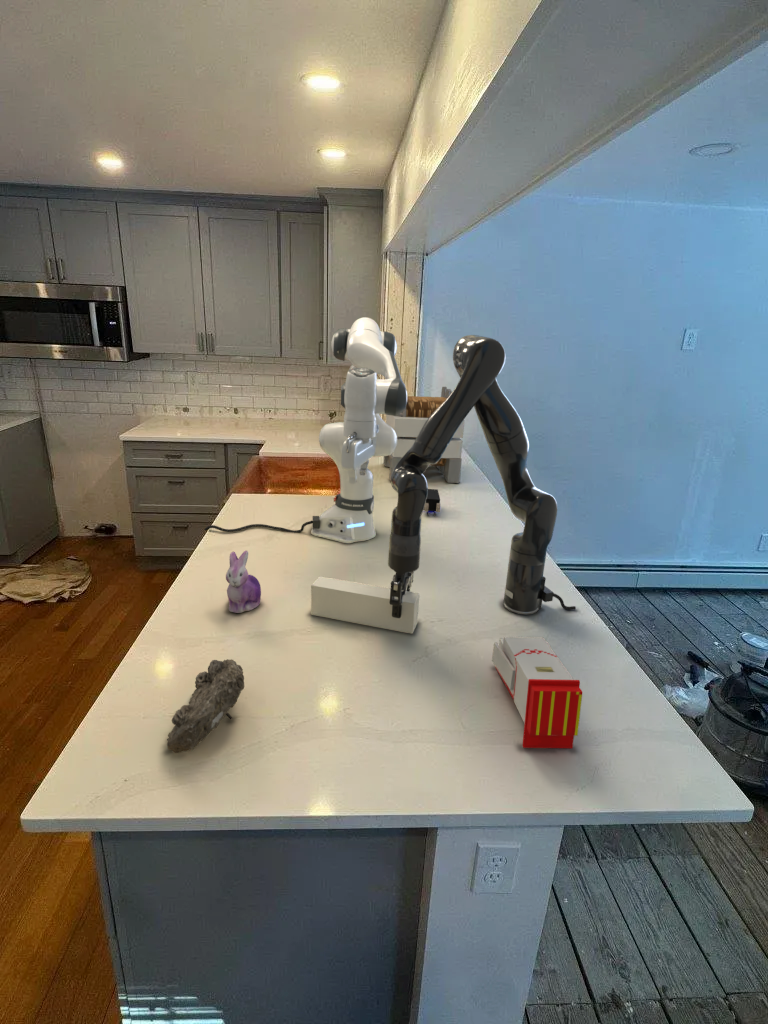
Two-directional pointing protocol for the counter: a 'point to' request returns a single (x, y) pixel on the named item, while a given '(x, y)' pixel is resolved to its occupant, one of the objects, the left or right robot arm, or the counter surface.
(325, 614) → the bar
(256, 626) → the counter surface
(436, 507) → the figurine character
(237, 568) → the figurine
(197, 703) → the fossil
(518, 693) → the toy
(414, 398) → the transformer
